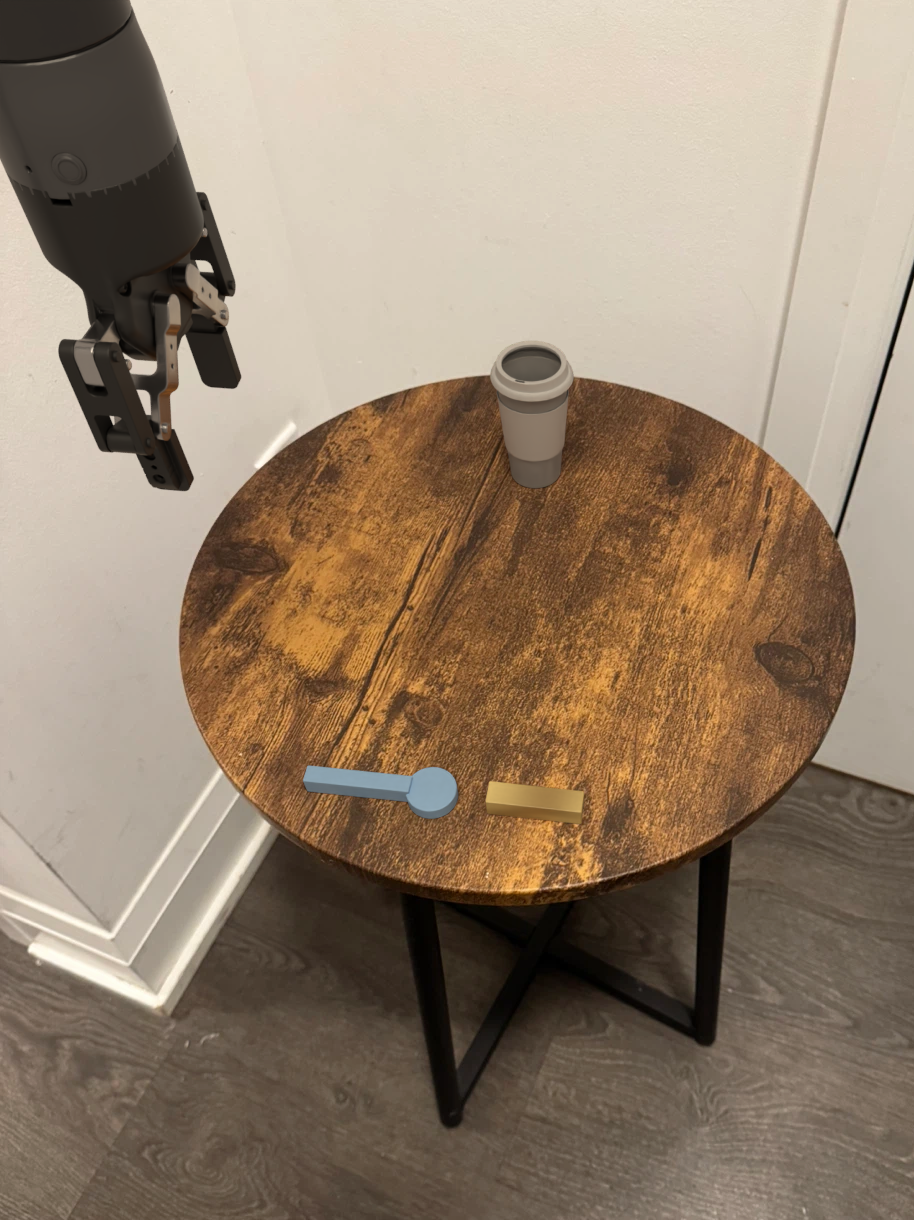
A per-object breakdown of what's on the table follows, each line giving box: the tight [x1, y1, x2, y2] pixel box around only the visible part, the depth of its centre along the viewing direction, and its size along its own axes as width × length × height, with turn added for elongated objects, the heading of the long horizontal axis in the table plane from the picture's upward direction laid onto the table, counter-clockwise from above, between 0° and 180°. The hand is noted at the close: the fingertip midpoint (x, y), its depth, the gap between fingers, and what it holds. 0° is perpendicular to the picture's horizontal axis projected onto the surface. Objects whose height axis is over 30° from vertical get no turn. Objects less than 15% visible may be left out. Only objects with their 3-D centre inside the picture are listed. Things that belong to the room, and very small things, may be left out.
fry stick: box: [484, 780, 585, 825], centre depth 76 cm, size 7×2×2 cm, turn 82°
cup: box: [489, 340, 575, 489], centre depth 92 cm, size 7×7×12 cm
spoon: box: [302, 765, 459, 820], centre depth 77 cm, size 11×4×2 cm, turn 82°
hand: (200, 433), depth 58 cm, fingers open, 8 cm apart
